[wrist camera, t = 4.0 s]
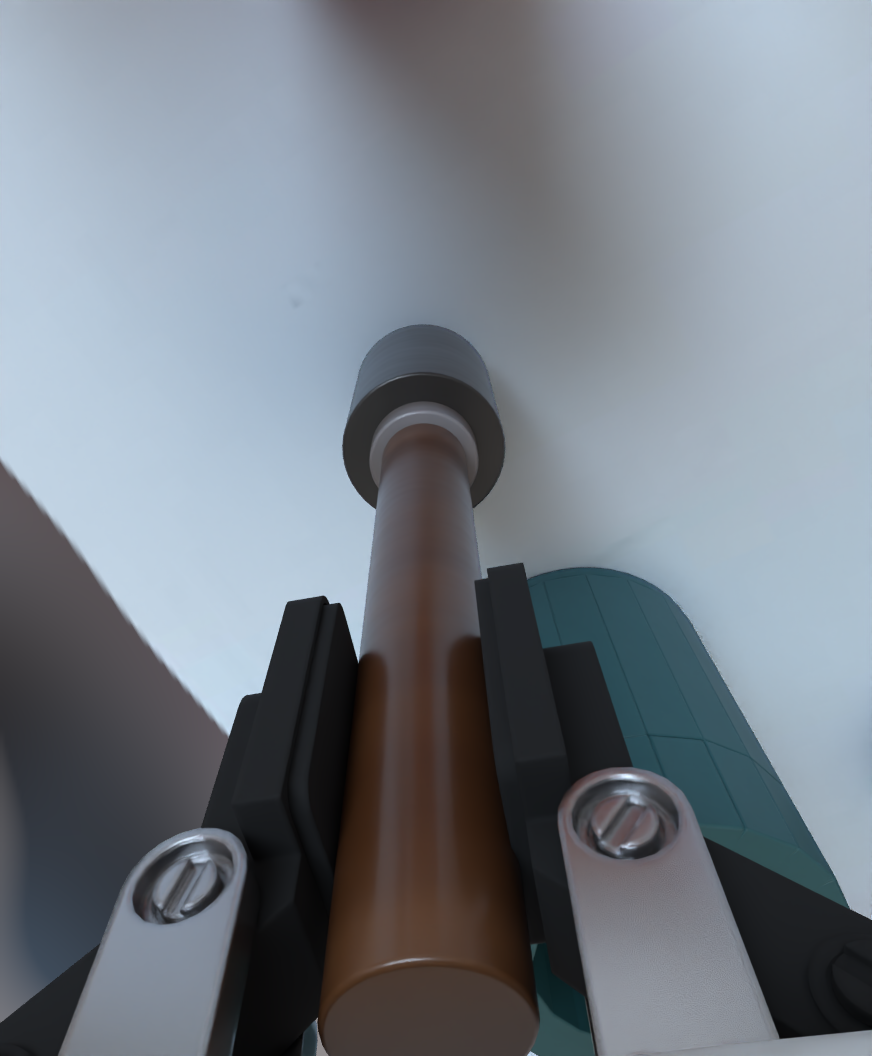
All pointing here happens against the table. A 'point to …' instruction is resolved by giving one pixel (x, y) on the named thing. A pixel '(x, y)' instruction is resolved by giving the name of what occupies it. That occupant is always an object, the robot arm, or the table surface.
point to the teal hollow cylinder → (668, 747)
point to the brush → (424, 734)
